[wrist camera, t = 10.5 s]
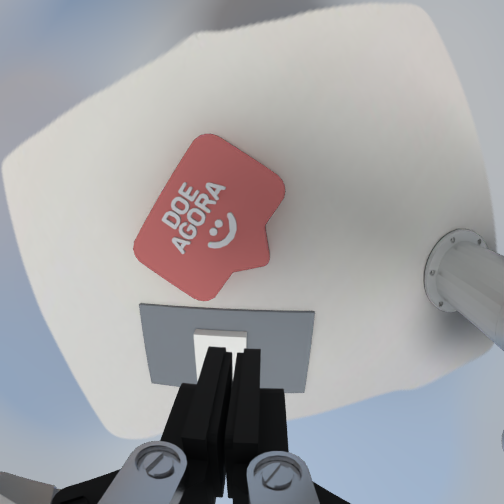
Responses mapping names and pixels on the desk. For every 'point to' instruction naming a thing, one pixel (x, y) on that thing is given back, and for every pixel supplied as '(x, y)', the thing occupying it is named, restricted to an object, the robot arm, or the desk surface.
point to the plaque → (210, 218)
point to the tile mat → (251, 321)
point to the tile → (218, 344)
